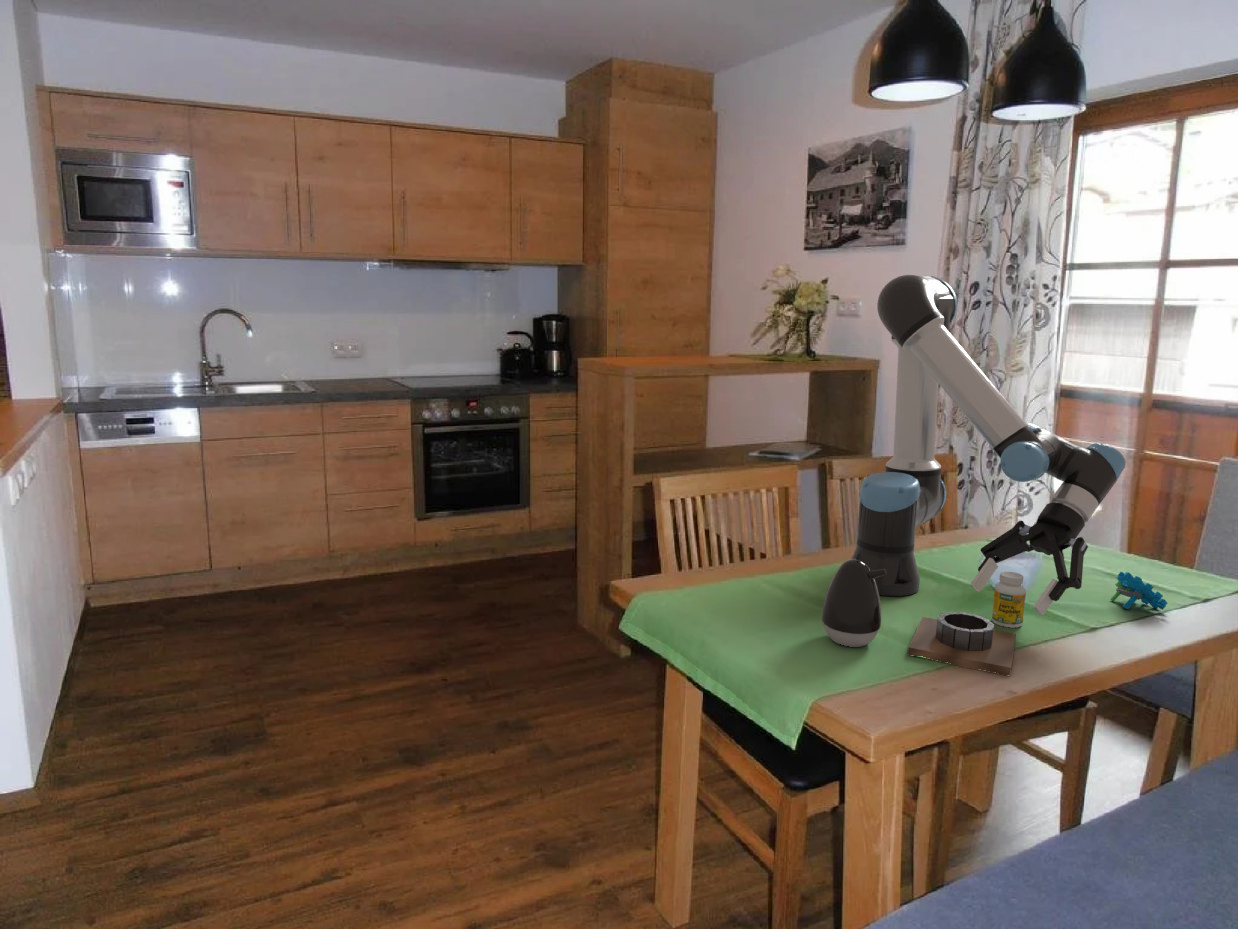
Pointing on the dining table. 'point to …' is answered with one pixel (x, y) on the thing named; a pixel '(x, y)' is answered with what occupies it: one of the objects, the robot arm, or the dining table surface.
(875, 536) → the robot arm
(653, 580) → the dining table surface
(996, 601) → the supplement bottle
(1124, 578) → the gear
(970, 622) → the collar
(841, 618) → the pump dispenser
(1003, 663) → the board
